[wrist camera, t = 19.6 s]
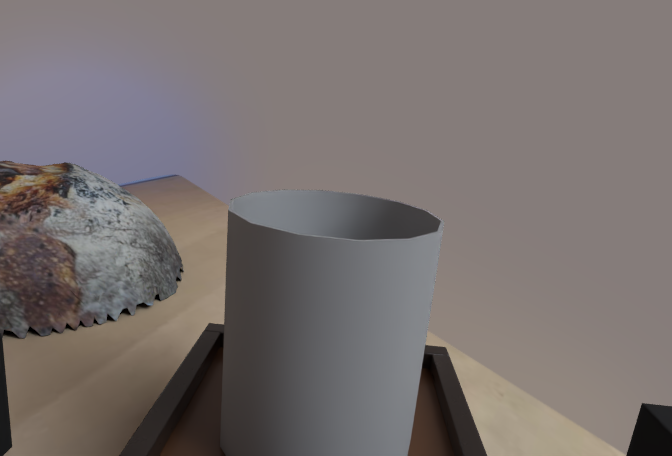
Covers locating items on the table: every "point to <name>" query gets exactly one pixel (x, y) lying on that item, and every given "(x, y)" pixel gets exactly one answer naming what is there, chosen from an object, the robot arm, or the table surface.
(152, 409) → the brown wooden tray
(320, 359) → the cup
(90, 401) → the table surface
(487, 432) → the table surface
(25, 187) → the bread
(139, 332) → the table surface
